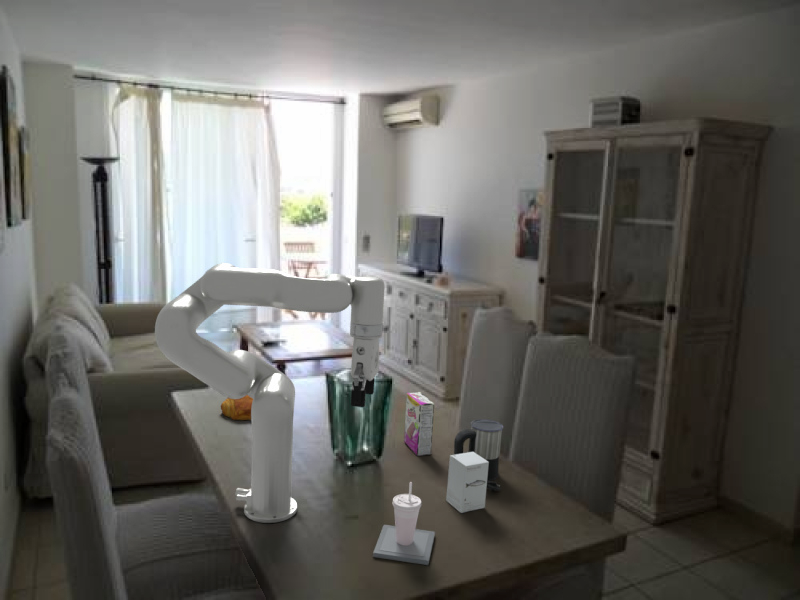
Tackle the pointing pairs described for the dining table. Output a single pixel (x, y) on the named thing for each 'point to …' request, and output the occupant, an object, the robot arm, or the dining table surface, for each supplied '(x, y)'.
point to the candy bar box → (419, 423)
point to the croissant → (237, 408)
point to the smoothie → (406, 516)
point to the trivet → (404, 546)
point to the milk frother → (483, 445)
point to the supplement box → (467, 481)
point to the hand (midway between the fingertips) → (362, 399)
